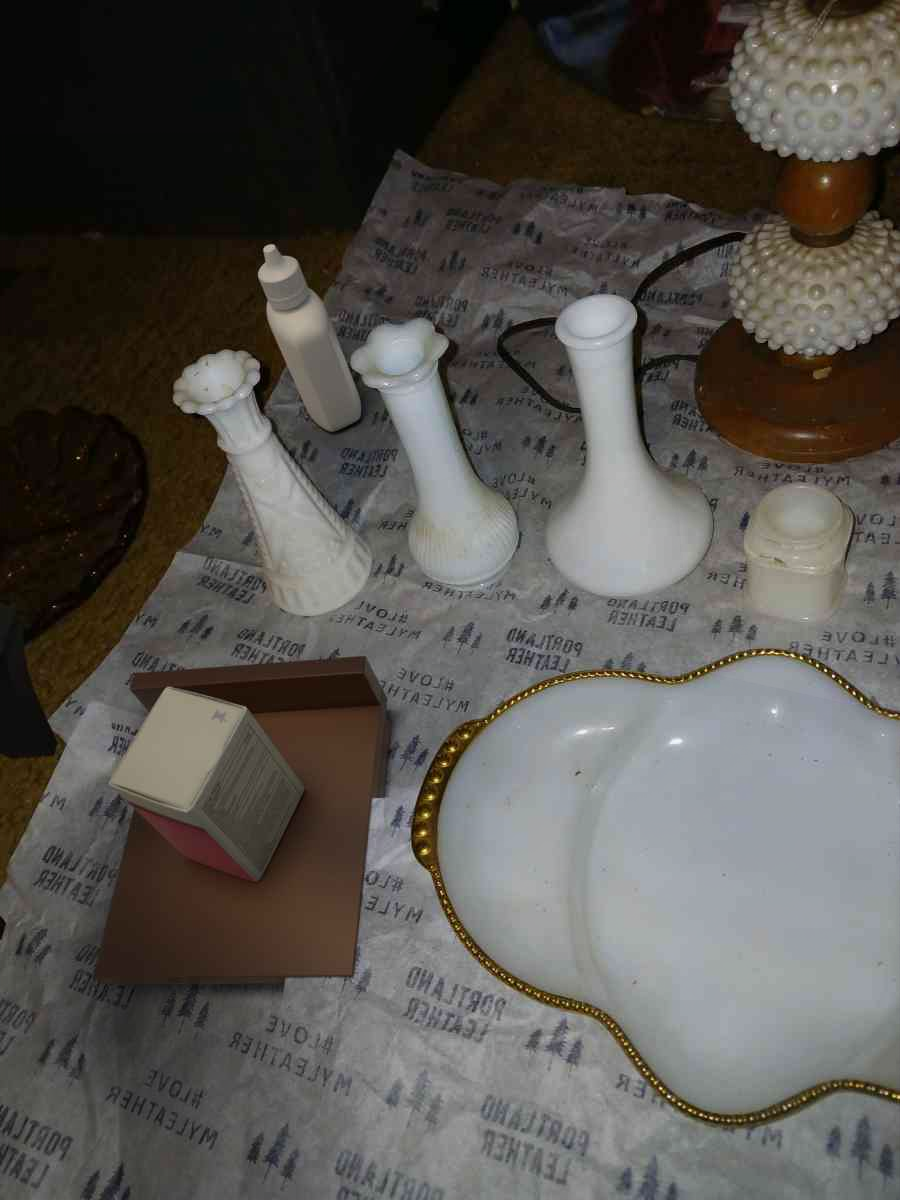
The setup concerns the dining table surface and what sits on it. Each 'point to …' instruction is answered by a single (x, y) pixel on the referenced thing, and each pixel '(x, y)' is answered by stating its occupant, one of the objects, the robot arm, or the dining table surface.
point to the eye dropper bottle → (308, 343)
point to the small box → (210, 782)
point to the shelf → (301, 860)
